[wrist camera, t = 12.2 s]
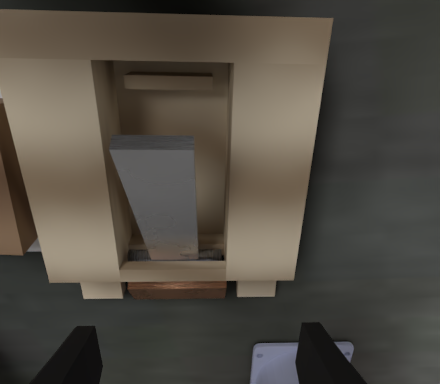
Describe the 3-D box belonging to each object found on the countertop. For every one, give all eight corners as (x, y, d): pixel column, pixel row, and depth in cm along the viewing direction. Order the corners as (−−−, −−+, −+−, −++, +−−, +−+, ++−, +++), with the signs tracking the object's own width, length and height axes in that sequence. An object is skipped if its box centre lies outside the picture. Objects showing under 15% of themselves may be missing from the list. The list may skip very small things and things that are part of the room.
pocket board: (271, 286, 24) (285, 336, 20) (88, 288, 23) (64, 341, 19) (302, 21, 17) (333, 18, 13) (35, 14, 16) (-21, 8, 12)
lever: (224, 275, 23) (224, 298, 22) (136, 276, 23) (134, 299, 22) (246, 135, 11) (250, 174, 10) (57, 133, 10) (44, 173, 10)
